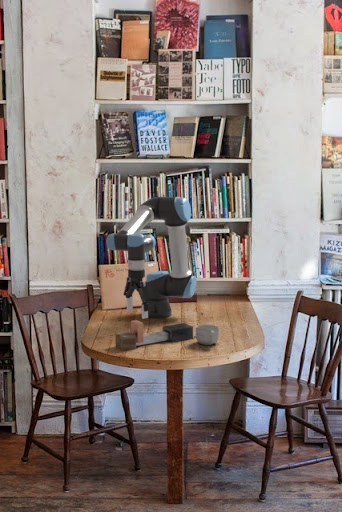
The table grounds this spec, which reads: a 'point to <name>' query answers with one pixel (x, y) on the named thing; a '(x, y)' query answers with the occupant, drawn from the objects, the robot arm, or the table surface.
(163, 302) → the robot arm
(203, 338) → the teacup
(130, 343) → the socket
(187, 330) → the sleeve
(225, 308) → the table surface
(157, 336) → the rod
